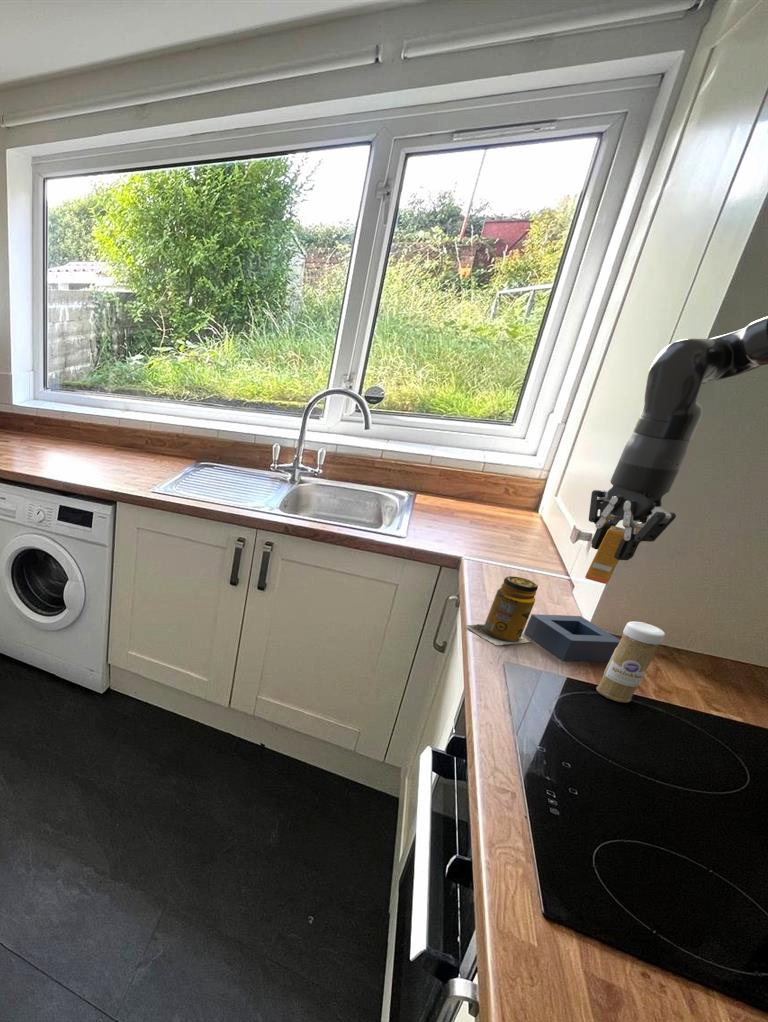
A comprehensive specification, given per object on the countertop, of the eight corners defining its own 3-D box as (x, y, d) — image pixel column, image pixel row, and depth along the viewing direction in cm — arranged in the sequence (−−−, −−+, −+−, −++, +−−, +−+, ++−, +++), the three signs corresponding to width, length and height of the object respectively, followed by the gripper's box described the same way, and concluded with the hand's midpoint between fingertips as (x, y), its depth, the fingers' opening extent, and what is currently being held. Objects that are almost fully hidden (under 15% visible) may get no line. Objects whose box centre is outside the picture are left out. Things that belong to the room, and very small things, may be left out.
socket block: (614, 663, 109) (624, 642, 107) (562, 661, 109) (571, 640, 107) (572, 635, 118) (580, 615, 116) (523, 633, 118) (531, 614, 116)
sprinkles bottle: (602, 699, 98) (636, 630, 93) (590, 684, 102) (622, 617, 97) (636, 706, 96) (672, 637, 91) (623, 691, 100) (657, 623, 95)
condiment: (530, 642, 114) (553, 588, 110) (495, 646, 113) (516, 591, 108) (497, 623, 121) (517, 571, 116) (463, 626, 119) (482, 574, 115)
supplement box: (608, 585, 105) (631, 534, 101) (584, 578, 107) (605, 528, 104) (611, 580, 107) (633, 530, 103) (587, 573, 109) (608, 524, 106)
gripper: (715, 474, 92) (668, 571, 99) (633, 452, 105) (596, 539, 112) (668, 472, 92) (623, 569, 99) (592, 451, 105) (557, 538, 112)
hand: (609, 553), depth 105 cm, fingers closed on supplement box, 4 cm apart
